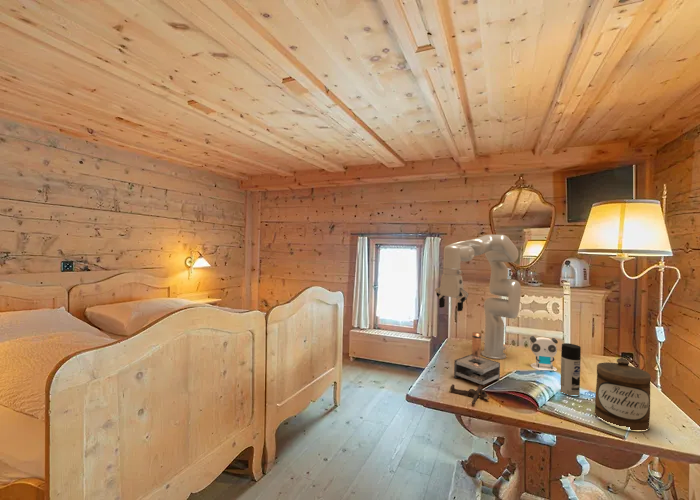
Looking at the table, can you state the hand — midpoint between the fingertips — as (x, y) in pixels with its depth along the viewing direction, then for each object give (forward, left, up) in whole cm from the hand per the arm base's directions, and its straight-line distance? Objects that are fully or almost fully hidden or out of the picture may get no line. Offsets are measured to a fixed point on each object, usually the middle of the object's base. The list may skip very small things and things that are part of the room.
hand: (450, 309), depth 157 cm
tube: (-17, +4, -30) cm, 35 cm away
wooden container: (-12, +62, -30) cm, 70 cm away
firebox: (-4, +12, -30) cm, 33 cm away
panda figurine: (-45, +24, -30) cm, 60 cm away
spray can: (-22, +43, -30) cm, 57 cm away
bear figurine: (+13, +19, -31) cm, 38 cm away
